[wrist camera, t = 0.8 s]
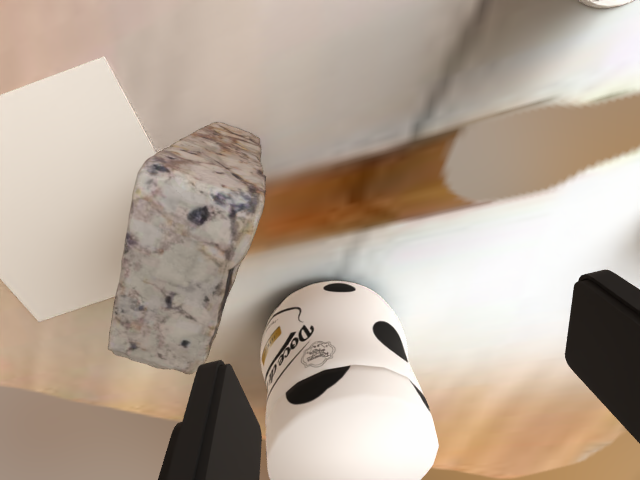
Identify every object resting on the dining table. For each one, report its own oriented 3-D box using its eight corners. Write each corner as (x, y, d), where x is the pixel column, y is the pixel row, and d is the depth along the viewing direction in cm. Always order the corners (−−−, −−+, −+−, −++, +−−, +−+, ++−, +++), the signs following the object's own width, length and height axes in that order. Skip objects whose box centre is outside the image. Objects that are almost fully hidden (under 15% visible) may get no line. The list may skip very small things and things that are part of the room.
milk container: (246, 285, 43) (227, 418, 27) (386, 255, 43) (450, 369, 27) (279, 385, 51) (279, 533, 35) (398, 359, 51) (453, 495, 35)
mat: (104, 56, 31) (103, 56, 31) (214, 261, 41) (214, 262, 41) (-120, 140, 32) (-123, 140, 32) (40, 320, 42) (39, 322, 42)
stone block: (195, 111, 34) (113, 160, 16) (268, 131, 36) (268, 195, 18) (178, 236, 39) (101, 378, 21) (243, 248, 41) (222, 390, 23)
